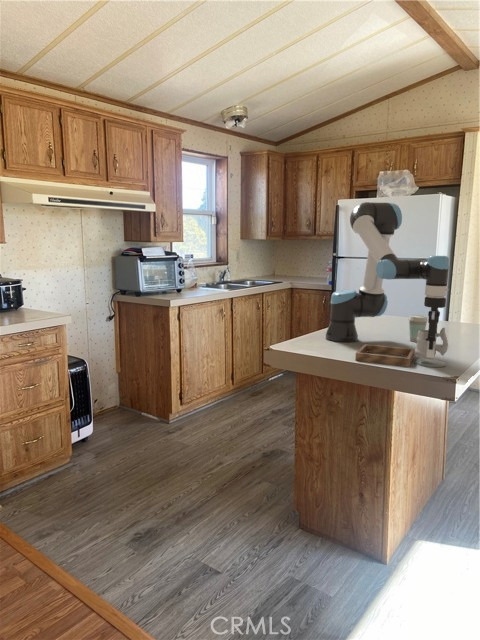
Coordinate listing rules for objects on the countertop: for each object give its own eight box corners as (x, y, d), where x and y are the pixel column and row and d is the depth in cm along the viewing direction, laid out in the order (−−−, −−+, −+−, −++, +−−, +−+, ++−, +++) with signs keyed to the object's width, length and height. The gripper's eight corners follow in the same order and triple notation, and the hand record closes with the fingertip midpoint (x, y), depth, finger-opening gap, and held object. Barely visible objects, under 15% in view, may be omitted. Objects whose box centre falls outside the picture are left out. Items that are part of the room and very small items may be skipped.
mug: (416, 353, 192) (419, 323, 190) (448, 357, 186) (451, 326, 184) (412, 356, 186) (414, 326, 184) (445, 361, 179) (447, 329, 177)
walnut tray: (355, 360, 190) (355, 352, 190) (364, 351, 207) (364, 344, 206) (409, 366, 182) (410, 358, 181) (414, 356, 198) (414, 349, 198)
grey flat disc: (413, 365, 184) (413, 363, 183) (416, 359, 193) (416, 357, 193) (444, 368, 179) (445, 367, 179) (446, 362, 189) (446, 360, 189)
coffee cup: (427, 343, 224) (429, 318, 222) (408, 342, 226) (410, 317, 224) (424, 339, 233) (426, 315, 231) (405, 338, 234) (407, 314, 232)
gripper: (445, 300, 171) (439, 362, 175) (447, 294, 189) (442, 351, 193) (422, 298, 174) (418, 359, 178) (426, 293, 193) (422, 349, 196)
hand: (430, 355), depth 186 cm, fingers closed on mug, 7 cm apart
